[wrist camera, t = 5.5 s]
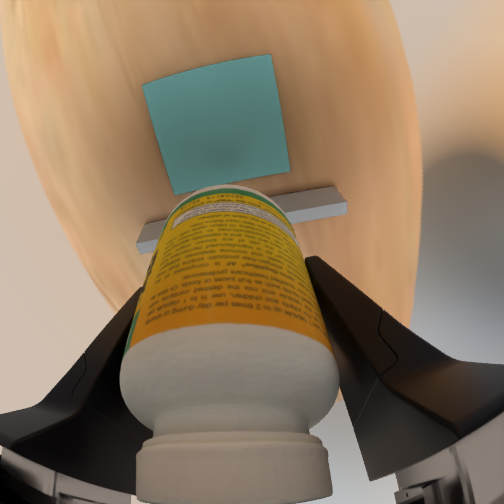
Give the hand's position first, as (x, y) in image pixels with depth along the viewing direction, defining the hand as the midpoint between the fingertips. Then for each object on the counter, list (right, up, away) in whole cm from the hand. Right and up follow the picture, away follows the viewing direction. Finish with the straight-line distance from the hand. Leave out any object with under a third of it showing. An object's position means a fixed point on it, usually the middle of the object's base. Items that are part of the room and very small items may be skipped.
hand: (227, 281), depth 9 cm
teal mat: (-2, +10, +9) cm, 13 cm away
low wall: (0, +4, +13) cm, 14 cm away
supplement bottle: (0, +2, +2) cm, 3 cm away
